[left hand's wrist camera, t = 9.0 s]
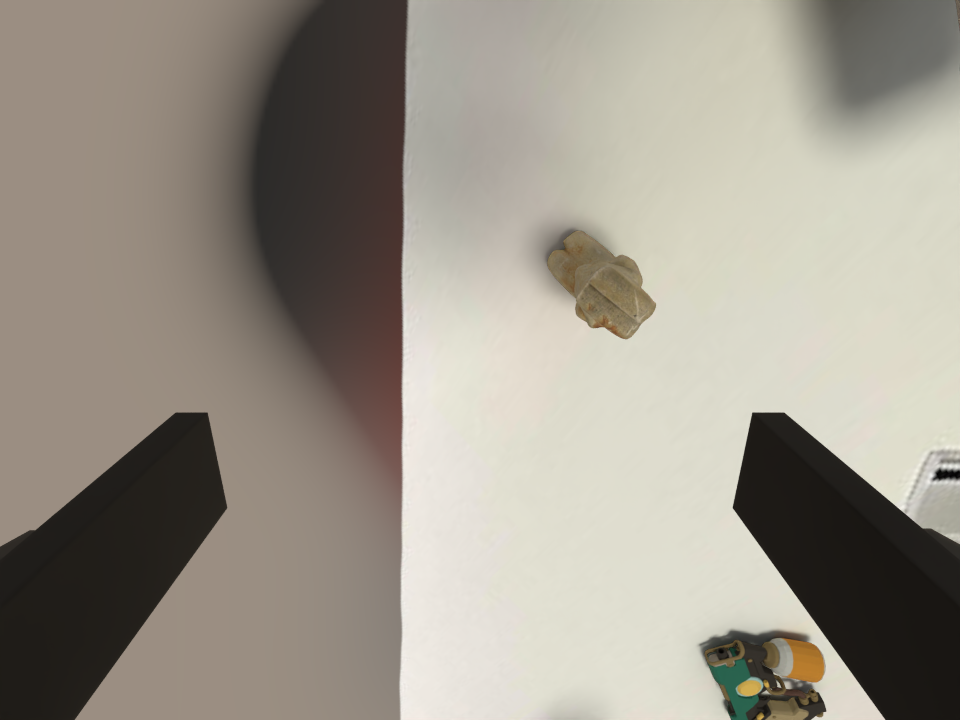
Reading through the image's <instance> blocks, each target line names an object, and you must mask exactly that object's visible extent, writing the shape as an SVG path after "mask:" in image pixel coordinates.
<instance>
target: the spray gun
mask: <svg viewBox="0 0 960 720" xmlns="http://www.w3.org/2000/svg"><path fill="white" fill-rule="evenodd" d="M737 643H738V645H739V646H737V650H736V649H734V648H732V647H734V646H736V644H737ZM727 648H729V650H728V649H727ZM715 651H716V654H711V655H710V656H709V657H707V655H708V654H709V653H711V652H715ZM705 657H706V660H707V663H708V665H709V668H710V670H711V673H712V675H713V677H714V679H715V680H716V682H718V683H719V685H720V688H721V690H722V693H723V695H724V697H725V699H726V700H728V703H729V705H728V707H727V708H728V713H729V716H730V718H731V720H811V719H812V718H814V717H815V716H817V717H822V716H823V712H826V708H825V704H824V701H823V700H822V698H821V696H820V694H819V693H818V692H816V691H815V690H814V689H810V690H809V693H808V694H805V693H804V692H802V691H800V690H796V689H786V688H785V685H784V683H783V681H782V679H781V678H780V677H779V676H777V675H774V674H773V672H772V671H774V672H775V673H776V674H778V675H780V676H783V677H788V678H793V679H798V680H803V681H808V682H819V681H820V680H821V679H822V678H823V676H824V674H825V660H824V657H823V654H822V652H821V651H820V650H819V649H818V647H817V646H815V645H814V644H812V643H808V642H802V641H796V640H790V639H785V638H775V639H772V640H770V641H769V642H765V643H764V644H763V645H762V647H761V646H757V645H753V644H749V643H745V642H741V641H739V640H735V641H734V642H733V643H731V644H727V645H723V646H719V647H715V648H712V649H708V650H706V651H705ZM761 661H763V662H764V664H765V665H766V666H767V667H768V668H767V667H765V666H763V665H761ZM770 668H771V669H772V670H771V669H770ZM775 679H776V680H778V681H779V683H780V685H781V688H778V687H777V683H776V680H775ZM770 688H771V689H772V690H771V689H770ZM765 690H767V691H768V692H769V693H770V694H772V695H788V696H798V697H792V698H790V699H789V700H788V701H776V700H770V697H768V696H767V697H766V698H764V697H762V698H760V697H758V695H760V694H761V693H763V692H764V691H765Z"/></svg>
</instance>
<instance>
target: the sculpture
mask: <svg viewBox="0 0 960 720" xmlns="http://www.w3.org/2000/svg"><path fill="white" fill-rule="evenodd" d="M564 246H565V249H564V250H555V251H553V252H552V253H551V255H550V256H549V258H548V262H547V264H548V268H549V270H550V271H551V273H552V274H553V275H554V277H555V278H556V279H557V280H558V281H559V282H560V283H561V284H562V285H563V287H564V288H565V289H566V290H567V291H568V292H569V293H570V294H571V295H573V296H574V297H575V298H576V302H577V303H576V307H575V310H576V315H577V316H578V317H579V318H581V319H582V320H584V321H586V322H587V323H588V325H589V326H590V327H591V328H599V327H605V328H606V329H607V330H609V331H610V332H612V333H613V334H615V335H616V336H618V337H620V338H623V339H628V338H630V337H632V335H633V334H634V333H635V332H636V331H637V330H638V328H639V326H640V325H641V324H642V323H643V322H644V321H645V320H646V319H648V318H649V317H650V316H651V315H652V314H653V312H654V310H655V308H656V303H655V302H654V301H653V300H652V299H651V298H650V296H649V295H648V294H647V293H646V292H645V291H644V290H643V289H642V288H641V286H642V282H643V281H642V276H641V273H640V271H639V268H638V266H637V264H636V263H635V261H634V260H632V259H630V258H629V257H627V256H624V255H619V256H618V257H615V256H614V255H613V254H611V253H610V252H609V251H608V250H607V249H606V248H604V247H603V246H602V245H601V244H600V243H598V242H597V241H596V240H594V239H593V238H592V237H590V236H589V235H587V234H586V233H584V232H582V231H575V232H573V233H572V234H571V235H570V236H568V237H567V238H566V239H565V240H564Z"/></svg>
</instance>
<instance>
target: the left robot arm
mask: <svg viewBox="0 0 960 720" xmlns="http://www.w3.org/2000/svg"><path fill="white" fill-rule="evenodd" d="M956 7H957V14H958V21H959V28H960V0H956ZM226 509H227V504H226V500H225V495H224V490H223V485H222V480H221V475H220V470H219V466H218V461H217V456H216V451H215V446H214V441H213V437H212V432H211V427H210V422H209V417H208V413H175V414H174V415H172V416H171V417H170V418H169V419H168V420H166V421H165V422H164V423H163V424H162V425H160V426H159V427H158V428H157V429H156V430H154V431H153V432H152V433H151V434H150V435H149V436H147V437H146V438H145V439H144V440H143V441H141V442H140V443H139V444H138V445H137V446H135V447H134V448H133V449H132V450H131V451H129V452H128V453H127V454H126V455H125V456H123V457H122V458H121V459H120V460H119V461H118V462H116V463H115V464H114V465H113V466H112V467H110V468H109V469H108V470H107V471H106V472H104V473H103V474H102V475H101V476H100V477H98V478H97V479H96V480H95V481H94V482H92V483H91V484H90V485H89V486H88V487H87V488H85V489H84V490H83V491H82V492H81V493H79V494H78V495H77V496H76V497H75V498H73V499H72V500H71V501H70V502H69V503H67V504H66V505H65V506H64V507H63V508H62V509H60V510H59V511H58V512H57V513H56V514H54V515H53V516H52V517H51V518H50V519H48V520H47V521H46V522H45V523H44V524H42V525H41V526H40V527H39V528H38V529H37V530H30V531H28V532H26V533H24V534H22V535H21V536H19V537H17V538H15V539H13V540H11V541H10V542H8V543H6V544H4V545H2V546H1V547H0V720H75V718H76V717H77V716H78V714H79V713H80V712H81V710H82V709H83V707H84V706H85V705H86V703H87V702H88V700H89V699H90V698H91V696H92V695H93V693H94V692H95V691H96V689H97V688H98V687H99V685H100V684H101V682H102V681H103V679H104V678H105V677H106V675H107V674H108V673H109V671H110V670H111V669H112V667H113V666H114V664H115V663H116V662H117V660H118V659H119V657H120V656H121V655H122V653H123V652H124V650H125V649H126V648H127V646H128V645H129V644H130V642H131V641H132V639H133V638H134V637H135V635H136V634H137V632H138V631H139V630H140V628H141V627H142V625H143V624H144V623H145V621H146V620H147V619H148V617H149V616H150V614H151V613H152V612H153V610H154V609H155V607H156V606H157V605H158V603H159V602H160V601H161V599H162V598H163V596H164V595H165V594H166V592H167V591H168V589H169V588H170V587H171V585H172V584H173V582H174V581H175V580H176V578H177V577H178V576H179V574H180V573H181V571H182V570H183V569H184V567H185V566H186V564H187V563H188V562H189V560H190V559H191V558H192V556H193V555H194V553H195V552H196V551H197V549H198V548H199V546H200V545H201V544H202V542H203V541H204V539H205V538H206V537H207V535H208V534H209V532H210V531H211V530H212V528H213V527H214V526H215V524H216V523H217V521H218V520H219V519H220V517H221V516H222V514H223V513H224V512H225V510H226ZM733 509H734V510H735V512H736V513H737V515H738V516H739V517H740V519H741V520H742V521H743V523H744V524H745V526H746V527H747V528H748V530H749V531H750V533H751V534H752V535H753V537H754V538H755V539H756V541H757V542H758V544H759V545H760V546H761V548H762V549H763V551H764V552H765V553H766V555H767V556H768V558H769V559H770V560H771V562H772V563H773V564H774V566H775V567H776V569H777V570H778V571H779V573H780V574H781V576H782V577H783V578H784V580H785V581H786V582H787V584H788V585H789V587H790V588H791V589H792V591H793V592H794V594H795V595H796V596H797V598H798V599H799V601H800V602H801V603H802V605H803V606H804V607H805V609H806V610H807V612H808V613H809V614H810V616H811V617H812V619H813V620H814V621H815V623H816V624H817V626H818V627H819V628H820V630H821V631H822V632H823V634H824V635H825V637H826V638H827V639H828V641H829V642H830V644H831V645H832V646H833V648H834V649H835V650H836V652H837V653H838V655H839V656H840V657H841V659H842V660H843V662H844V663H845V664H846V666H847V667H848V669H849V670H850V671H851V673H852V674H853V675H854V677H855V678H856V680H857V681H858V682H859V684H860V685H861V687H862V688H863V689H864V691H865V692H866V693H867V695H868V696H869V698H870V699H871V700H872V702H873V703H874V705H875V706H876V707H877V709H878V710H879V712H880V713H881V714H882V716H883V717H884V718H885V720H960V544H958V543H956V542H954V541H953V540H951V539H949V538H947V537H945V536H943V535H942V534H940V533H938V532H936V531H934V530H933V529H922V528H921V527H920V526H919V525H918V524H916V523H915V522H914V521H913V520H912V519H910V518H909V517H908V516H907V515H906V514H904V513H903V512H902V511H901V510H900V509H899V508H897V507H896V506H895V505H894V504H893V503H891V502H890V501H889V500H888V499H887V498H885V497H884V496H883V495H882V494H881V493H879V492H878V491H877V490H876V489H875V488H873V487H872V486H871V485H870V484H869V483H868V482H866V481H865V480H864V479H863V478H862V477H860V476H859V475H858V474H857V473H856V472H854V471H853V470H852V469H851V468H850V467H848V466H847V465H846V464H845V463H844V462H843V461H841V460H840V459H839V458H838V457H837V456H835V455H834V454H833V453H832V452H831V451H829V450H828V449H827V448H826V447H825V446H823V445H822V444H821V443H820V442H819V441H817V440H816V439H815V438H814V437H813V436H812V435H810V434H809V433H808V432H807V431H806V430H804V429H803V428H802V427H801V426H800V425H798V424H797V423H796V422H795V421H794V420H792V419H791V418H790V417H789V416H788V415H786V414H785V413H752V417H751V422H750V427H749V432H748V437H747V441H746V446H745V451H744V456H743V461H742V466H741V470H740V475H739V480H738V485H737V490H736V495H735V499H734V504H733Z"/></svg>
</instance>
